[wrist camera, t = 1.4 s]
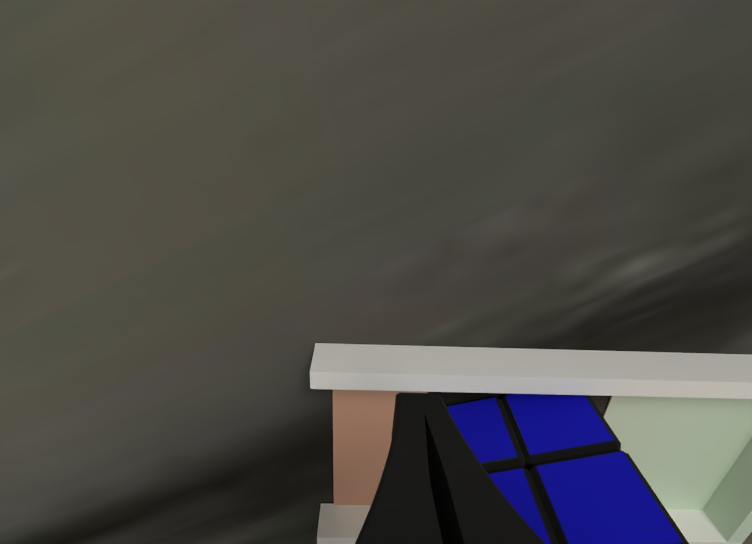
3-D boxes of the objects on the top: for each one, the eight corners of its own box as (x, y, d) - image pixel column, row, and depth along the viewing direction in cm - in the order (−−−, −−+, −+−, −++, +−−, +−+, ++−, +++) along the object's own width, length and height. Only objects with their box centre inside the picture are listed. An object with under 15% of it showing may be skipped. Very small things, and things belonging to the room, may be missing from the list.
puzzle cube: (578, 376, 25) (697, 549, 16) (581, 477, 29) (674, 657, 20) (421, 407, 26) (449, 586, 17) (447, 500, 30) (479, 680, 21)
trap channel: (709, 517, 32) (735, 551, 30) (321, 513, 31) (317, 547, 29) (823, 356, 24) (869, 385, 22) (315, 343, 23) (309, 371, 21)
